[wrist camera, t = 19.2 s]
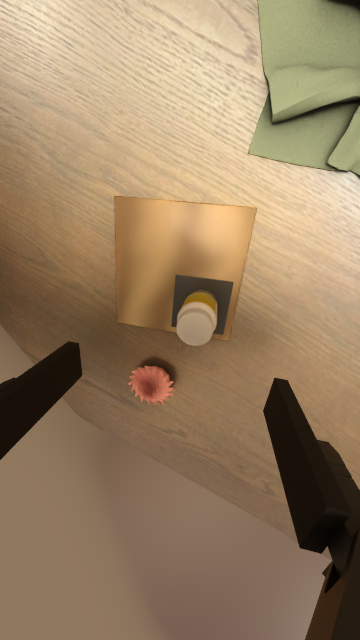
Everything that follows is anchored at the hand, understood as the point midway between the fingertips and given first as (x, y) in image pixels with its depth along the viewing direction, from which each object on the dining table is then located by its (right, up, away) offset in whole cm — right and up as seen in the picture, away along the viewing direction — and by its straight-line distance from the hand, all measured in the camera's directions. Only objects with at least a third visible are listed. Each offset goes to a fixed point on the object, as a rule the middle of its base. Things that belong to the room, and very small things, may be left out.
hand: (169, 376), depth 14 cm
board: (0, +10, +16) cm, 19 cm away
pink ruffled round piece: (-3, -6, +23) cm, 24 cm away
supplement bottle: (+4, +6, +16) cm, 17 cm away
